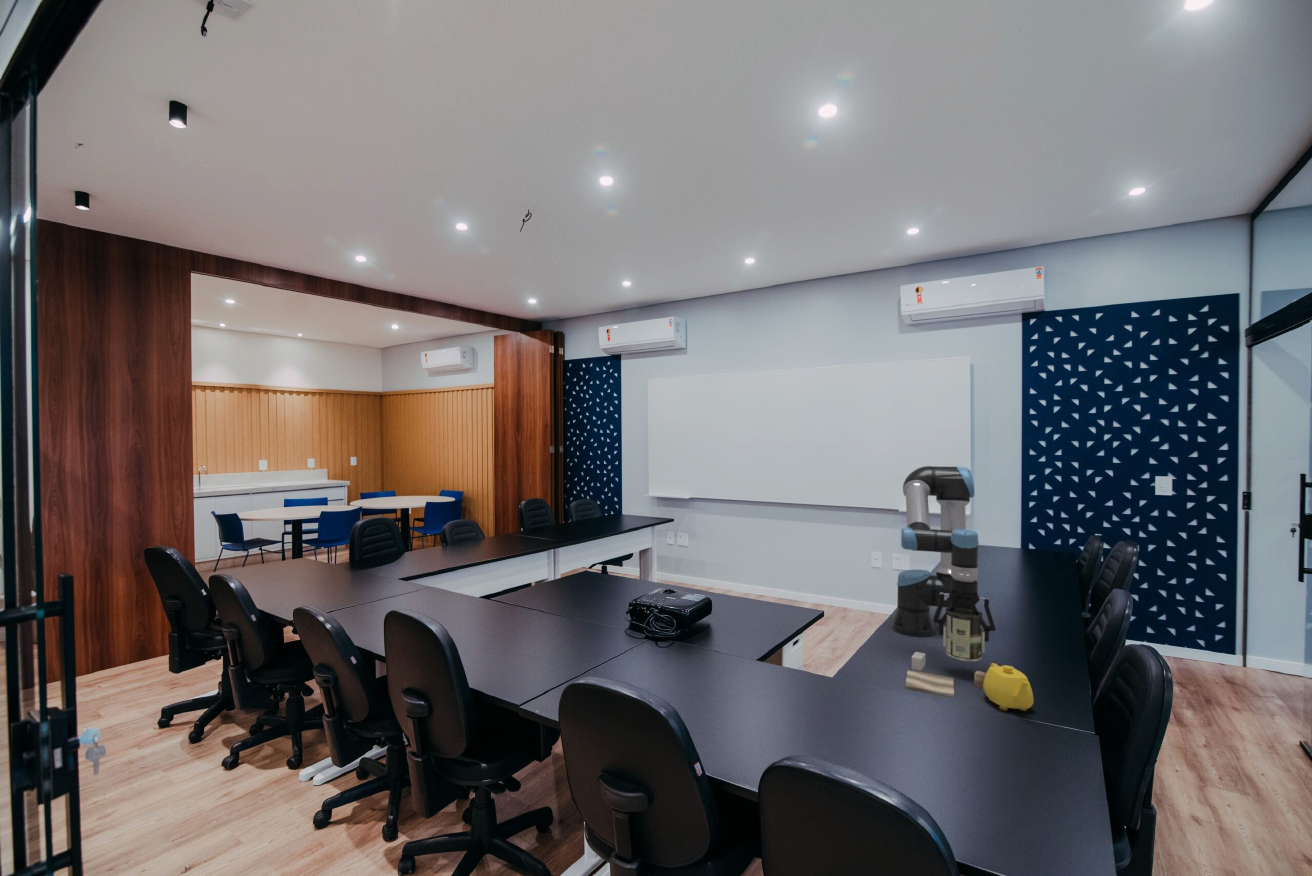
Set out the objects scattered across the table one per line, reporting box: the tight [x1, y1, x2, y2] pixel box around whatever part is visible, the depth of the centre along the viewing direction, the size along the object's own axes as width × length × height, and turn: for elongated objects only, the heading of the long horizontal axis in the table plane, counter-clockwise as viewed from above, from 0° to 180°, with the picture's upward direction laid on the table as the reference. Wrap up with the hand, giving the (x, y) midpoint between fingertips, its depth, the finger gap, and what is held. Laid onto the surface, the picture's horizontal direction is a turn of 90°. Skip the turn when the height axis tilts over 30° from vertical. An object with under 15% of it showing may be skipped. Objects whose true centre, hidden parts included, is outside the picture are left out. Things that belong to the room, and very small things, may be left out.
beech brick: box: [973, 670, 987, 689], centre depth 171 cm, size 6×3×4 cm, turn 44°
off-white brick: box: [910, 651, 926, 672], centre depth 186 cm, size 6×3×4 cm, turn 143°
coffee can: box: [945, 607, 983, 662], centre depth 180 cm, size 10×10×14 cm
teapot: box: [982, 662, 1034, 712], centre depth 159 cm, size 18×11×11 cm, turn 177°
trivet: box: [904, 669, 955, 698], centre depth 173 cm, size 13×13×1 cm
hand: (963, 648), depth 180 cm, fingers closed on coffee can, 10 cm apart
